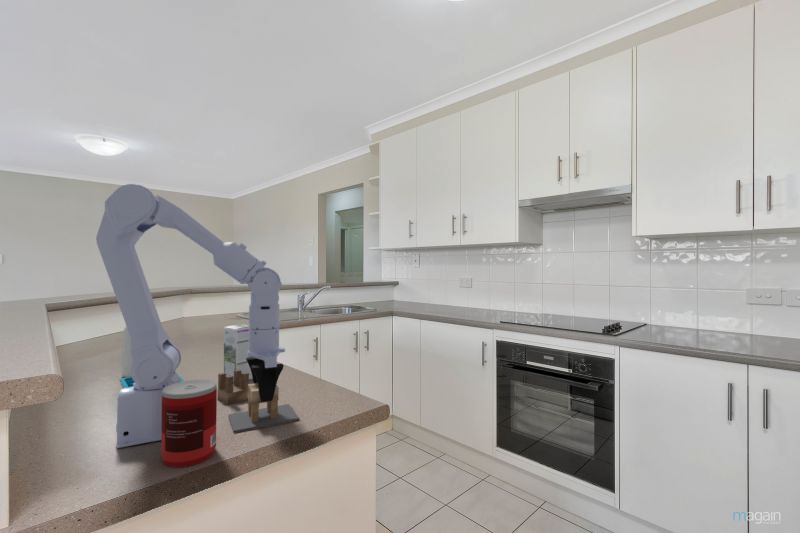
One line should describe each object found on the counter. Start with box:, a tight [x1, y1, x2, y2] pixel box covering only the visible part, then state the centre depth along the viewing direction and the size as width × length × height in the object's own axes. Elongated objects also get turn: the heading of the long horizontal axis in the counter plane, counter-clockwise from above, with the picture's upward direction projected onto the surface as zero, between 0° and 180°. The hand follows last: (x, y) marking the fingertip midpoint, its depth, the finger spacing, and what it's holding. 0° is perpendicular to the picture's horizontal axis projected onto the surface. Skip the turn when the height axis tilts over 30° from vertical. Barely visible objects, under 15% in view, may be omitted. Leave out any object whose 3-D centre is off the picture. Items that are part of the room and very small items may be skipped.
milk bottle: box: [121, 325, 133, 378], centre depth 106 cm, size 8×8×20 cm
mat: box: [227, 403, 301, 434], centre depth 75 cm, size 12×9×1 cm
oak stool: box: [247, 383, 280, 423], centre depth 75 cm, size 5×5×6 cm
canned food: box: [160, 379, 218, 468], centre depth 60 cm, size 8×8×11 cm
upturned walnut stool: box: [217, 370, 250, 405], centre depth 86 cm, size 5×5×6 cm
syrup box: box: [223, 324, 253, 383], centre depth 102 cm, size 6×6×14 cm
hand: (263, 395), depth 75 cm, fingers open, 6 cm apart
